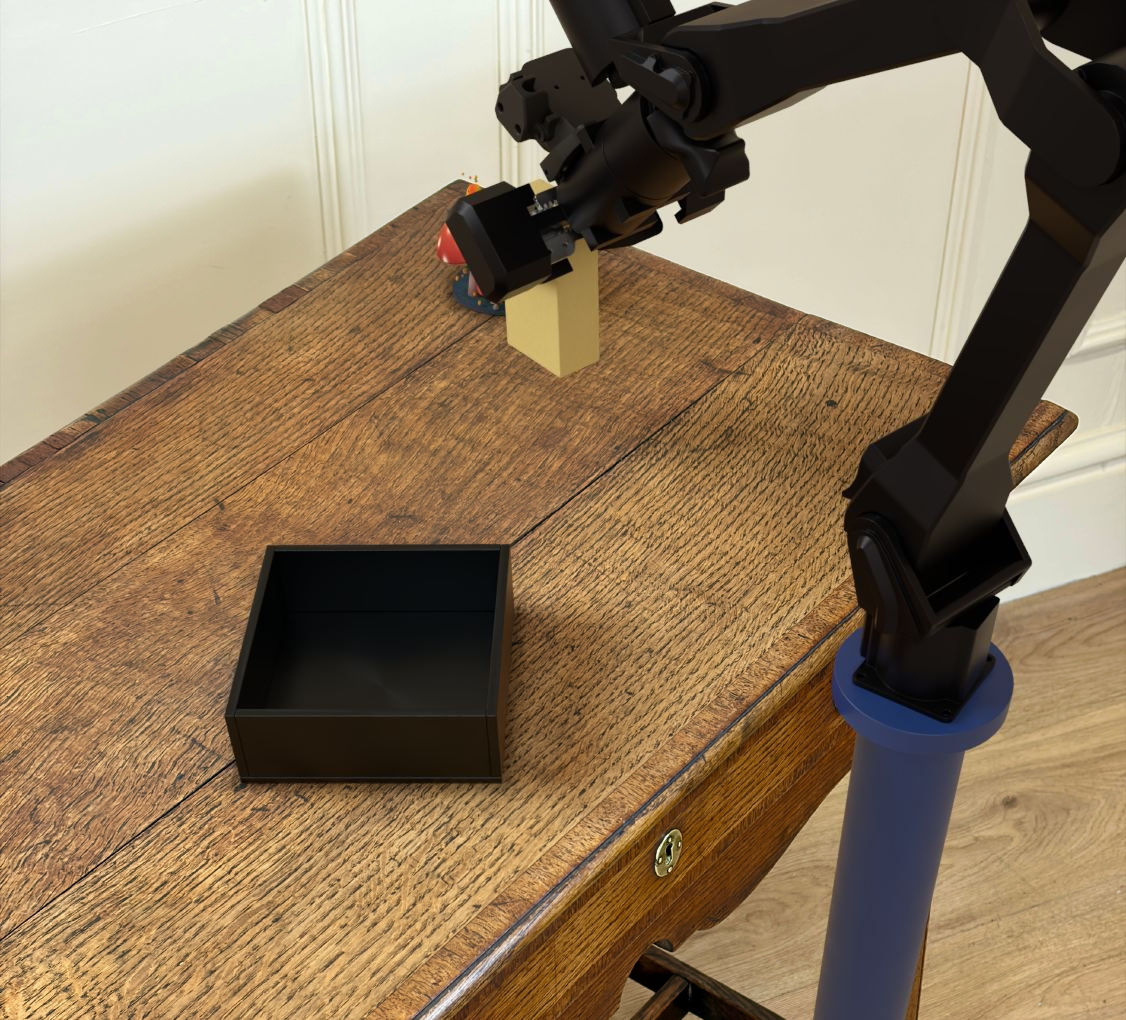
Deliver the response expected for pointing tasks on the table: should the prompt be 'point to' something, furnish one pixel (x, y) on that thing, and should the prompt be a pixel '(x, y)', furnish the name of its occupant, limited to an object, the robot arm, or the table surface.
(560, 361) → the block
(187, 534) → the table surface
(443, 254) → the figurine
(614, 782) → the table surface
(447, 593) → the bin
